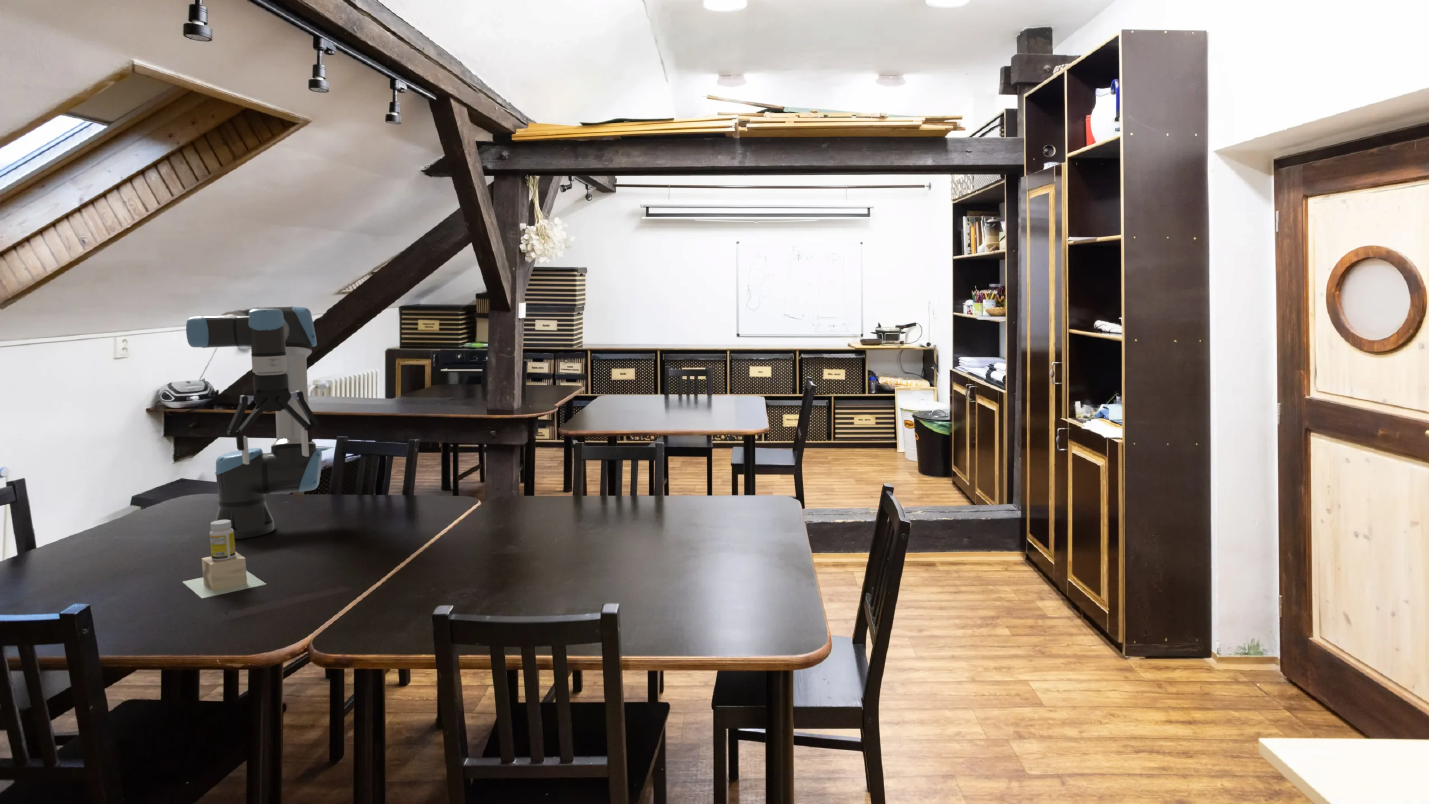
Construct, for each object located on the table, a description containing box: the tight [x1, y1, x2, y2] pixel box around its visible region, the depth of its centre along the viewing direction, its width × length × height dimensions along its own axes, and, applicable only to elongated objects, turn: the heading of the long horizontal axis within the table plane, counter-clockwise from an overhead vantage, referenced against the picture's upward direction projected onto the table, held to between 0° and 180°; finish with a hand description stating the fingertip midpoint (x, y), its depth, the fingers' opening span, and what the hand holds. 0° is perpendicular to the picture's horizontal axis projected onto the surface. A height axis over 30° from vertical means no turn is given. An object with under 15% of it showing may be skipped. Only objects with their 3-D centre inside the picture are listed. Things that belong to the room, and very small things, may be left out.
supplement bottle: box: [209, 520, 236, 561], centre depth 196 cm, size 5×5×8 cm
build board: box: [182, 570, 267, 599], centre depth 198 cm, size 16×13×1 cm
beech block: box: [201, 551, 247, 591], centre depth 196 cm, size 7×7×6 cm
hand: (276, 459), depth 213 cm, fingers open, 13 cm apart
